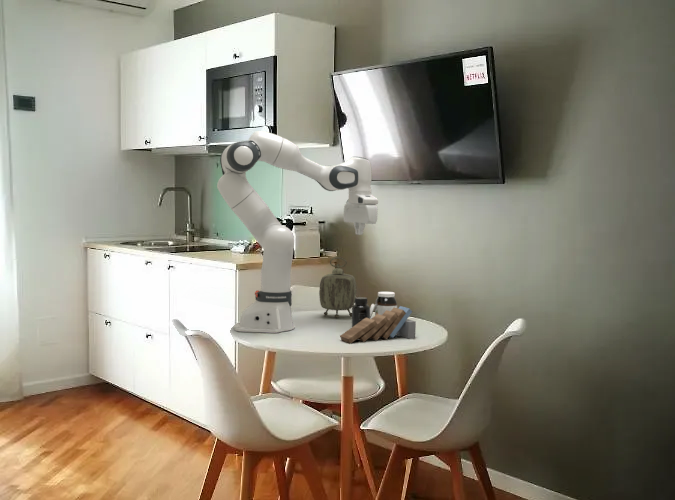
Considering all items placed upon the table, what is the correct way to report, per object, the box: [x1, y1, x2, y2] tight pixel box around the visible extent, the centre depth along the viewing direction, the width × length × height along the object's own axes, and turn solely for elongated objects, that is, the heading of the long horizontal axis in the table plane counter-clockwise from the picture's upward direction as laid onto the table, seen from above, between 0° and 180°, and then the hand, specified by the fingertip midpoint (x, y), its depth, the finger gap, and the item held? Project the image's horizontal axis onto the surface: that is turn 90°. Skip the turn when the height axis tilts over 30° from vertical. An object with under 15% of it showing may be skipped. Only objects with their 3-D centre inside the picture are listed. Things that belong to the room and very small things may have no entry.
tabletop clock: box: [318, 256, 357, 319], centre depth 279 cm, size 14×9×25 cm, turn 82°
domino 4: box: [379, 307, 406, 341], centre depth 241 cm, size 2×6×12 cm
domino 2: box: [356, 314, 389, 343], centre depth 237 cm, size 2×6×12 cm
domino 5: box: [388, 305, 413, 339], centre depth 242 cm, size 2×6×12 cm
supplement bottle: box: [351, 296, 371, 328], centre depth 255 cm, size 7×7×12 cm
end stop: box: [395, 318, 417, 340], centre depth 244 cm, size 3×10×6 cm, turn 29°
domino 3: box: [368, 310, 398, 341], centre depth 239 cm, size 2×6×12 cm
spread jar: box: [369, 291, 398, 319], centre depth 273 cm, size 12×11×12 cm
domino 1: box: [339, 318, 377, 345], centre depth 235 cm, size 2×6×12 cm
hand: (359, 234), depth 264 cm, fingers closed
